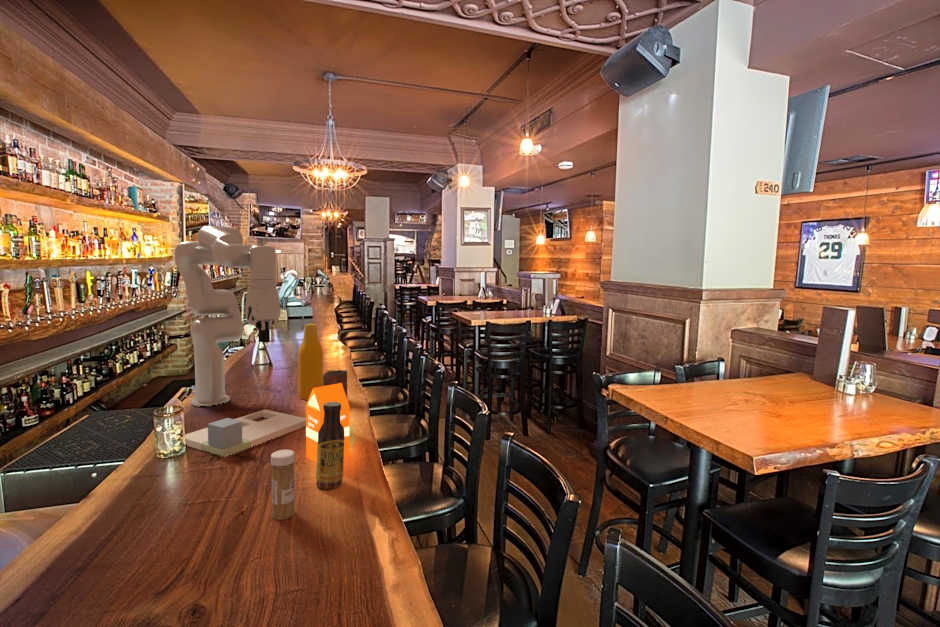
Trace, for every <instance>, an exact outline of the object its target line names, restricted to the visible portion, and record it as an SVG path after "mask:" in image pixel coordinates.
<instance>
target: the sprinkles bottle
mask: <svg viewBox="0 0 940 627" xmlns="http://www.w3.org/2000/svg"><path fill="white" fill-rule="evenodd" d="M295 457H296V456H295V452H294V450H292V449H279V450H276V451H274V452H272V453H271V455H270V464H271V503H272V513H271V517H272V519H274V520H279V521H281V520H287V519H289V518H291V517H292V516H294V514H295V513H296V511H295V509H296V508H295V474H294V473H295V468H294V467H295V466H294V465H295V464H294V463H295V459H296V458H295Z"/></svg>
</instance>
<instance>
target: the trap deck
mask: <svg viewBox="0 0 940 627" xmlns="http://www.w3.org/2000/svg"><path fill="white" fill-rule="evenodd" d="M260 417H261V418H262V417H264V418H263V420H260V421H256V420H258V419H261V418H260ZM257 418H258V419H257ZM266 418H268V419H266ZM234 419H235V420H239V421H242V442H241V443H238V444H236V445H233V446H230V447H227V448H225V449H220V448H217V447H214V446H210V445H208V427H204V428H202V429H198V430H195V431H191V432H189V433H186V434H184V435H185V441H186V444H187V447H189V448H191V449H192V448H193V449H195V450H199V451H202V450H203V451H202V452H205V451H207V452H206V453H208V452H210V453H209V454H212V453H213V455H215V454H217V455H216V456H218V455H221V456H220V457H222V456H223V457H222V458H225V457H226V458H228V457H230V456H229V455H231V456H233V455H235V453H236V454H238V453H240V452H239V451H241V452H243V451H246V450H248V449H247V448H249V449H251V448H253V446H254V447H256V446H258V444H259V445H261V444H264V443H267V442H269V441H272V440H274V439H276V437H277V438H279V437H282V436H284V435H287V434H290V433H291V432H295V431H298V430H300V429H303V428H304V427H305V428H306V417H302V416H298V415H293V414H288V413H284V412H279V411H276V410H275V411H274V410H270V409H266V408H265V409H261V410H260V411H259V410H258V411H256V412H252V413H248V414H246V415H244V416H240V417H236V418H234ZM254 419H255V420H254ZM271 439H272V440H271ZM268 440H269V441H268ZM266 441H267V442H266ZM263 442H264V443H263ZM255 445H256V446H255ZM250 447H251V448H250ZM245 449H246V450H245ZM242 450H243V451H242ZM237 452H238V453H237ZM232 454H233V455H232ZM227 456H228V457H227Z"/></svg>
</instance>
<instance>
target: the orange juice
mask: <svg viewBox="0 0 940 627" xmlns="http://www.w3.org/2000/svg"><path fill="white" fill-rule="evenodd" d="M326 402H339V403H341V410H340V423H341V424H342V426H343V428H344V459H346V458H348V457H350V431H351V430H350V403H349V400H348V396H347V397H346V395H345V392H344V389H343V386H342V383H338V384H333V385H328V386H322V387H317V388H313V390H312V392H311V395H310V397H309V400H307V402H306V405H305V418H306V426H305V439H306V440H305V443H306V444H305V445H306V446H305V448H306V451H305V452H306V453H305V455H306V458H307V459H308V460H310V461H311V462H313V463H316V464H317V443H318V432H319V430H320V428H321V426H322V424H323V422H324V421H323V420H324V410H323V406H324V403H326Z"/></svg>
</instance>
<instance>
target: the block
mask: <svg viewBox="0 0 940 627" xmlns="http://www.w3.org/2000/svg"><path fill="white" fill-rule="evenodd" d="M235 419H236V418H230V417H226V418H223V419H219V420H216V421H212V422H210V423H207V428H208V445H210V446H214V447H217V448H220V449H225V448H227V447H230V446H233V445H236V444H238V443H241V442H242V421H239V420H235Z"/></svg>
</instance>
